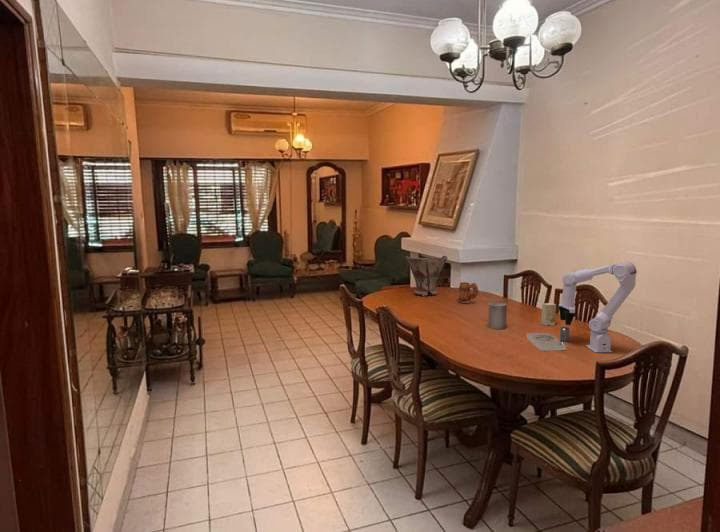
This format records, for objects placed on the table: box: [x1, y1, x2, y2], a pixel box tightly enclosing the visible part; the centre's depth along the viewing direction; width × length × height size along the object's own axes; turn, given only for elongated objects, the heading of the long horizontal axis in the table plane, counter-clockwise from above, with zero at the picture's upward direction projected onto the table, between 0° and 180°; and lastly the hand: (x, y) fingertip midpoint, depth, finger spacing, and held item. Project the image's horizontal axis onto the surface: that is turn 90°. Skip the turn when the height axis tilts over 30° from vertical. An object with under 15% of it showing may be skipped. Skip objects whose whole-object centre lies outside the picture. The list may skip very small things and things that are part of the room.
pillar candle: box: [488, 301, 508, 330], centre depth 255 cm, size 10×10×15 cm
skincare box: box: [540, 302, 557, 327], centre depth 258 cm, size 6×4×12 cm
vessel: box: [405, 255, 448, 297], centre depth 341 cm, size 30×27×30 cm
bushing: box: [559, 326, 571, 343], centre depth 229 cm, size 4×4×7 cm
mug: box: [458, 281, 479, 304], centre depth 312 cm, size 15×8×15 cm, turn 42°
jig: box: [526, 332, 567, 352], centre depth 226 cm, size 20×12×2 cm, turn 178°
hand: (565, 322), depth 229 cm, fingers open, 7 cm apart
